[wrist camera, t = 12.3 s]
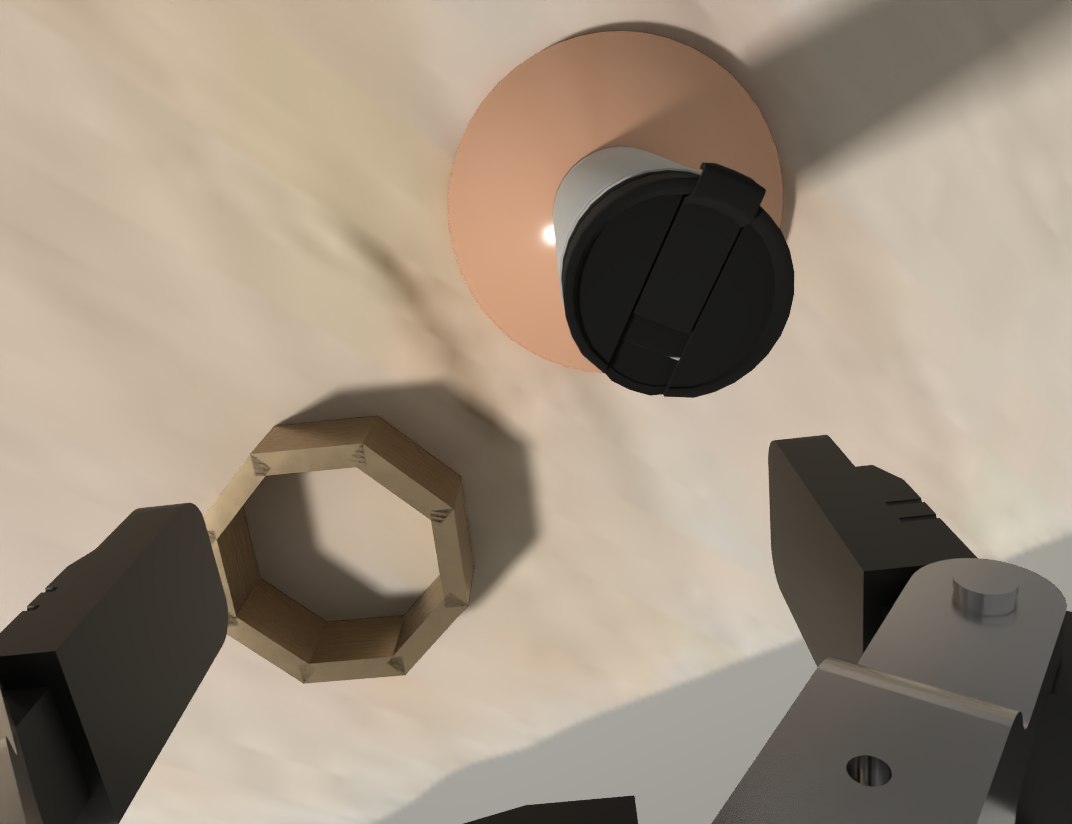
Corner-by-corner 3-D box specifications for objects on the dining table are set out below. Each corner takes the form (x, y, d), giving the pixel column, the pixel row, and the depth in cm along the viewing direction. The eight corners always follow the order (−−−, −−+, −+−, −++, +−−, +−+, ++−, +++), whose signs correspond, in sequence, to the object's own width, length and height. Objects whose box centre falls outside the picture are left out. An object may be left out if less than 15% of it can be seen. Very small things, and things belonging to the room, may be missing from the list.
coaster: (427, 53, 40) (424, 52, 39) (776, 12, 39) (780, 11, 39) (472, 382, 45) (471, 387, 45) (781, 352, 45) (785, 356, 44)
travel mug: (708, 168, 41) (851, 218, 22) (651, 297, 43) (737, 444, 24) (585, 117, 40) (624, 123, 21) (533, 250, 42) (526, 364, 23)
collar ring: (202, 432, 46) (171, 461, 43) (451, 408, 46) (442, 435, 42) (255, 646, 51) (232, 689, 47) (483, 627, 50) (478, 669, 46)
